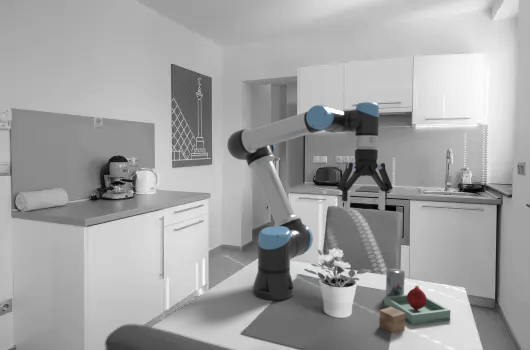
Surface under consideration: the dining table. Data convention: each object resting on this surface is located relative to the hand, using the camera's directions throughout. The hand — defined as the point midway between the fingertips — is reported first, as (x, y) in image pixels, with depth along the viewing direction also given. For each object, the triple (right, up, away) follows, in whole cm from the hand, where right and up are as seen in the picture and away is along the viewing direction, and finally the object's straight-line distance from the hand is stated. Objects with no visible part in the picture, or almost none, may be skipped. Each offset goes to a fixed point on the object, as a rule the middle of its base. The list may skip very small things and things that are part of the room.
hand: (364, 210), depth 122 cm
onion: (+15, -32, -7) cm, 36 cm away
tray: (+15, -32, -7) cm, 36 cm away
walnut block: (+3, -33, -18) cm, 38 cm away
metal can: (+12, -32, +3) cm, 34 cm away
